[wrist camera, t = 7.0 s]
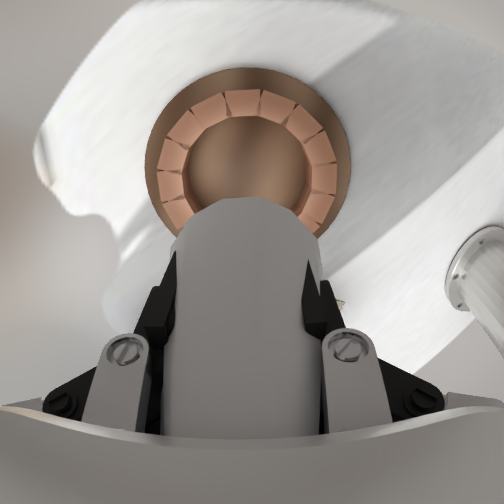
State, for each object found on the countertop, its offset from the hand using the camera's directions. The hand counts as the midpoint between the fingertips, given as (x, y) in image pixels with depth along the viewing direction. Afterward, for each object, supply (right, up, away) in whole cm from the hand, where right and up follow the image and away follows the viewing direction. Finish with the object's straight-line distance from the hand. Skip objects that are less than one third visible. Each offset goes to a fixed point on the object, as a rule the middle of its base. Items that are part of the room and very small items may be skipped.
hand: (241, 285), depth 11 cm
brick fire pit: (0, +8, +15) cm, 17 cm away
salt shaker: (0, +2, +3) cm, 3 cm away
